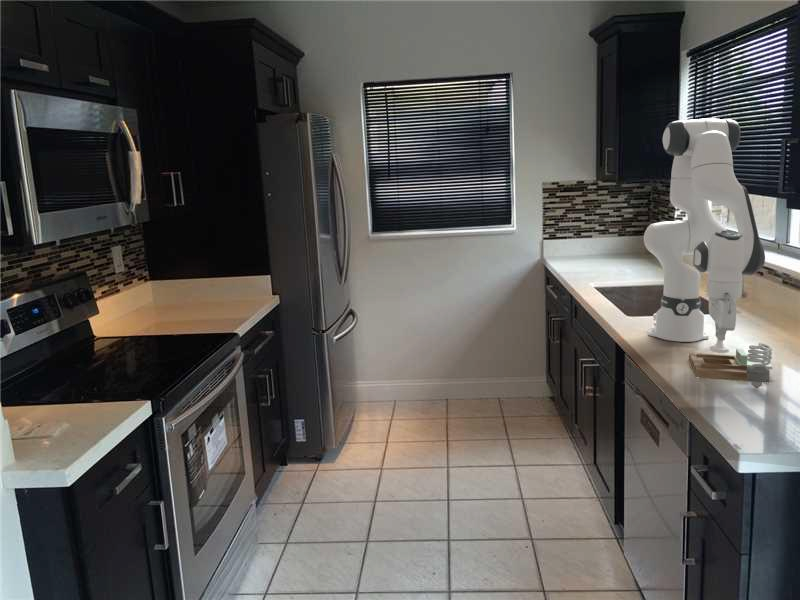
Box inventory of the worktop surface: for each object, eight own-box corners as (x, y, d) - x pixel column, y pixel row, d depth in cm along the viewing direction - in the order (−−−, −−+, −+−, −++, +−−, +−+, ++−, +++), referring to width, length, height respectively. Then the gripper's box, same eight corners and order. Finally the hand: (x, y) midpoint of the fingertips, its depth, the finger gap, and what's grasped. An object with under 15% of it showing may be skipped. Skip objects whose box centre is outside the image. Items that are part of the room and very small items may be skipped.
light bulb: (758, 392, 172) (762, 347, 170) (739, 386, 177) (743, 342, 175) (773, 389, 174) (778, 344, 172) (754, 383, 179) (758, 339, 177)
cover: (734, 359, 192) (735, 347, 191) (765, 360, 190) (766, 349, 189) (739, 367, 184) (740, 355, 184) (772, 369, 182) (773, 357, 181)
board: (688, 360, 199) (689, 350, 198) (755, 365, 194) (756, 354, 194) (696, 377, 184) (697, 366, 183) (768, 382, 179) (769, 371, 179)
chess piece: (723, 348, 191) (726, 313, 189) (732, 352, 186) (735, 317, 184) (706, 348, 191) (709, 314, 189) (714, 353, 186) (717, 318, 184)
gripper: (744, 298, 174) (739, 349, 177) (729, 284, 194) (725, 330, 196) (717, 297, 176) (713, 347, 179) (706, 283, 195) (702, 329, 198)
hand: (720, 338), depth 188 cm, fingers closed on chess piece
